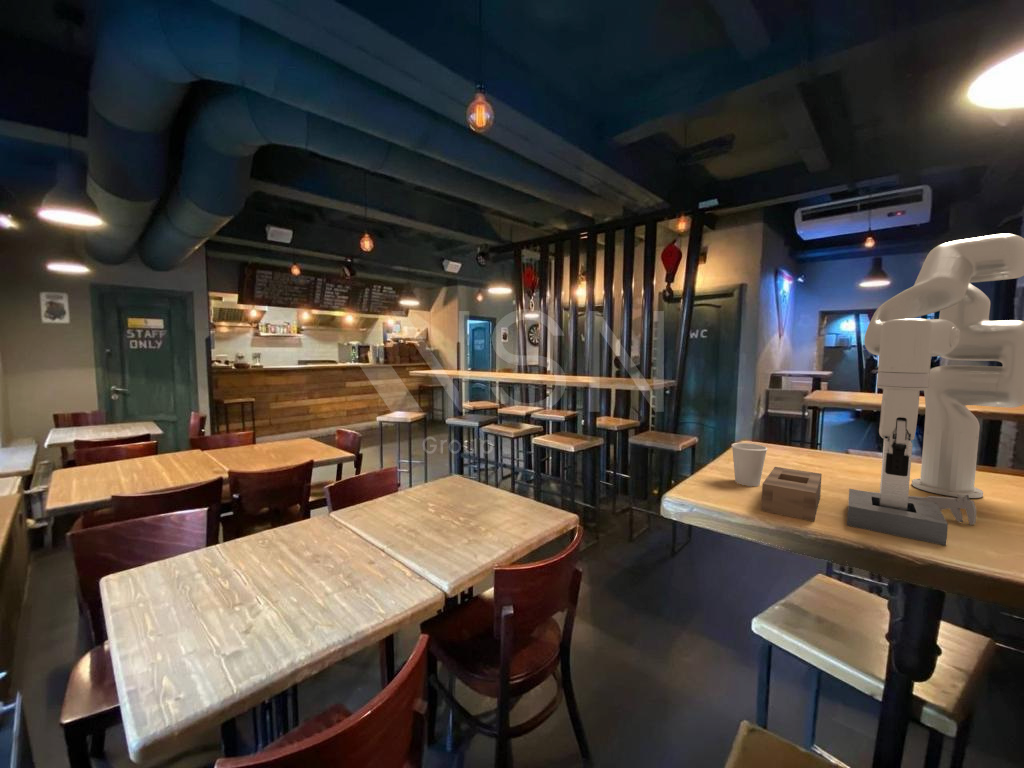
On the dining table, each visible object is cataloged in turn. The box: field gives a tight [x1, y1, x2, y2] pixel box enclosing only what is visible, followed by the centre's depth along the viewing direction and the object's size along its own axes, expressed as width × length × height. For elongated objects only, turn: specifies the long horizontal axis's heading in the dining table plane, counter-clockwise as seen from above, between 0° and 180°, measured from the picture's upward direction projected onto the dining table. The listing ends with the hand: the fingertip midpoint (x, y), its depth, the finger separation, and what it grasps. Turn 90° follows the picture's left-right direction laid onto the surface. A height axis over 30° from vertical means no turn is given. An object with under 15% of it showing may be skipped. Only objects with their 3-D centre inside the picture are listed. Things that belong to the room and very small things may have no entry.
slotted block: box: [760, 466, 822, 522], centre depth 96 cm, size 18×10×6 cm, turn 141°
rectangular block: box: [879, 437, 913, 511], centre depth 85 cm, size 4×4×14 cm
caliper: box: [872, 491, 977, 526], centre depth 94 cm, size 20×1×6 cm, turn 25°
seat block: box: [846, 488, 949, 546], centre depth 86 cm, size 14×14×4 cm
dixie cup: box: [731, 442, 768, 487], centre depth 111 cm, size 8×8×10 cm
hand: (895, 471), depth 85 cm, fingers closed on rectangular block, 4 cm apart
